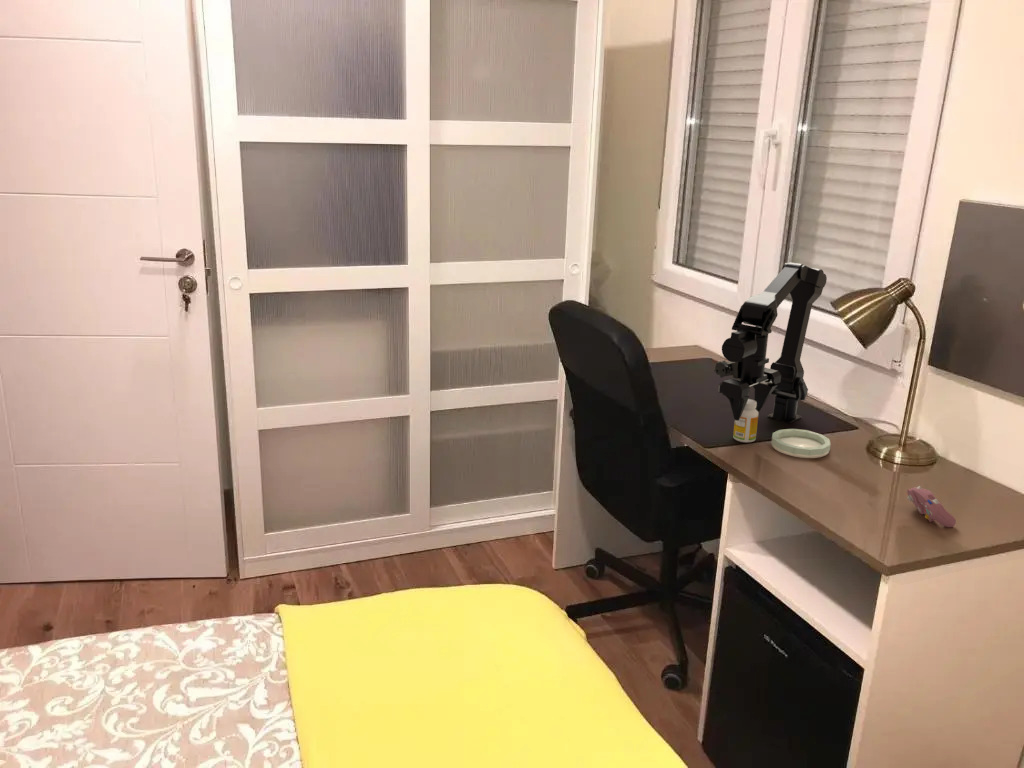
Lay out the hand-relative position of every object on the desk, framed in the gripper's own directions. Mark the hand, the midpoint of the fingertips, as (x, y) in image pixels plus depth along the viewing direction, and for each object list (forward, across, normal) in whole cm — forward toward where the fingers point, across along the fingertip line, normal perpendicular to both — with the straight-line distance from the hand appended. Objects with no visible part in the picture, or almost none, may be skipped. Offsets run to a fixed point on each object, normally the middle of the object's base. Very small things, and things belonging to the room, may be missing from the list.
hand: (746, 415), depth 200 cm
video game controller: (+6, +10, +47) cm, 49 cm away
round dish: (+6, -5, +12) cm, 14 cm away
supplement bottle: (+6, 0, 0) cm, 6 cm away
